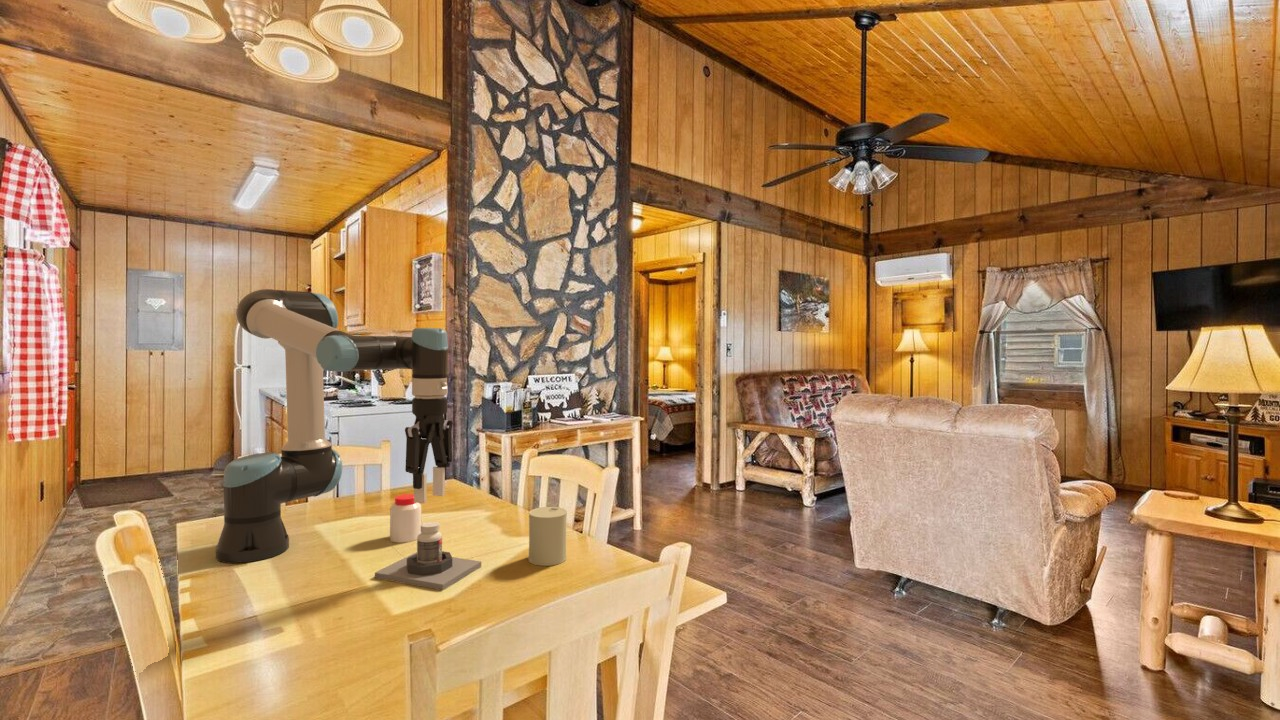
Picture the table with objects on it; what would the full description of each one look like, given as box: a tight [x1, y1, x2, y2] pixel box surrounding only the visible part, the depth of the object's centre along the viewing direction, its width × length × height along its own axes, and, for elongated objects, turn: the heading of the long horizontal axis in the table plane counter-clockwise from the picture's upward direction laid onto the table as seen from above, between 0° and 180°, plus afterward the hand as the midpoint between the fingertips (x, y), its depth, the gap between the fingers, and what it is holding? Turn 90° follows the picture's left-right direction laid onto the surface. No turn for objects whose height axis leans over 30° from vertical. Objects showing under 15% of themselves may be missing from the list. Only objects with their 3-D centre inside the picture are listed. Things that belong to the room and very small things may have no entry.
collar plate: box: [374, 550, 482, 591], centre depth 135 cm, size 18×14×3 cm
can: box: [527, 506, 568, 567], centre depth 145 cm, size 9×9×12 cm
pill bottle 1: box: [389, 493, 422, 544], centre depth 158 cm, size 8×8×11 cm
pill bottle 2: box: [416, 521, 443, 565], centre depth 135 cm, size 5×5×10 cm
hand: (429, 498), depth 135 cm, fingers open, 6 cm apart
